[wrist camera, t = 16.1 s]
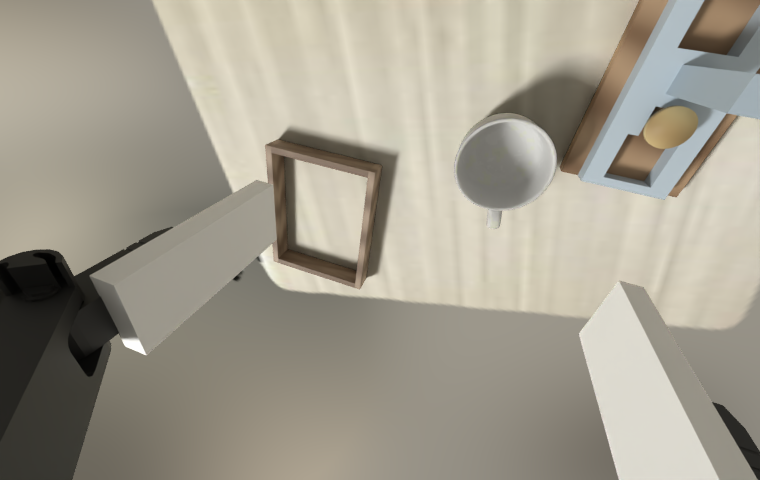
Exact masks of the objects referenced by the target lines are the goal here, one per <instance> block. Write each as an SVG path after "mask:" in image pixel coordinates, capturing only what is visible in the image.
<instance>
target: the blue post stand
mask: <svg viewBox="0 0 760 480" xmlns="http://www.w3.org/2000/svg"><path fill="white" fill-rule="evenodd" d="M703 2H704V0H668V2H667V4H666V6H665V8H664V10H663V12H662V14H661V16H660V18H659V20H658V22H657V24H656V25H655V27H654V29H653V31H652V33H651V35H650V37H649V39H648V41H647V43H646V45H645V47H644V49H643V50H642V52H641V54H640V56H639V58H638V60H637V62H636V64H635V66H634V68H633V70H632V72H631V74H630V76H629V77H628V79H627V81H626V83H625V85H624V87H623V89H622V91H621V93H620V95H619V97H618V99H617V101H616V102H615V104H614V106H613V108H612V110H611V112H610V114H609V116H608V118H607V120H606V122H605V124H604V126H603V127H602V129H601V131H600V133H599V135H598V137H597V139H596V141H595V143H594V145H593V147H592V149H591V151H590V152H589V154H588V156H587V158H586V160H585V162H584V164H583V166H582V168H581V170H580V172H579V174H578V176H579V178H580V180H581V181H584V182H589V183H593V184H597V185H602V186H606V187H610V188H615V189H619V190H623V191H628V192H632V193H636V194H641V195H645V196H650V197H654V198H658V199H663V200H665V198H666V197H667V196H668V194H669V193H670V192H671V190H672V189H673V187H674V186H675V185H676V183H677V182H678V180H679V179H680V178H681V176H682V175H683V173H684V172H685V171H686V169H687V168H688V167H689V165H690V164H691V162H692V161H693V160H694V158H695V157H696V155H697V154H698V153H699V151H700V150H701V148H702V147H703V146H704V144H705V143H706V141H707V140H708V139H709V137H710V136H711V135H712V133H713V132H714V130H715V129H716V128H717V126H718V125H719V123H720V122H721V121H722V119H723V118H724V116H725V115H726V114H727V113H728V114H733V115H739V116H744V117H750V118H756V119H760V74H755V73H756V72H757V71H758V69H759V68H760V5H759V6H758V8H757V10H756V11H755V13H754V14H753V16H752V17H751V19H750V20H749V22H748V23H747V25H746V26H745V28H744V29H743V31H742V32H741V34H740V35H739V37H738V39H737V40H736V42H735V43H734V45H733V46H732V48H731V49H730V51H729V52H728V54H727V55H721V54H715V53H708V52H701V51H695V50H688V49H681V48H677V47H678V46H679V44H680V42H681V40H682V39H683V37H684V35H685V33H686V32H687V30H688V28H689V26H690V25H691V23H692V21H693V19H694V18H695V16H696V14H697V12H698V11H699V9H700V7H701V5H702V4H703ZM675 105H678V106H684V107H687V108H689V109H691V110H693V111H694V112H695V113H696V114H697V117H698V126H697V129H696V131H695V132H694V134H693V135H692V136H691V137H690V138H689V139H688V140H687V141H686V142H684V143H682V144H681V145H679V146H676V147H673V148H669V149H665V150H664V152H663V153H662V155H661V156H660V158H659V159H658V161H657V162H656V164H655V165H654V167H653V169H652V170H651V172H650V173H649V175H648V176H647V178H646V179H645V181H640V180H636V179H631V178H627V177H622V176H618V175H613V174H609V173H606V172H607V170H608V168H609V167H610V165H611V163H612V161H613V160H614V158H615V156H616V154H617V153H618V151H619V149H620V147H621V146H622V144H623V142H624V140H625V139H626V137H627V135H628V134H631V135H636V136H639V134H640V132H641V130H642V129H643V127H644V125H645V124H646V122H647V120H648V119H649V117H650V115H651V114H652V112H653V110H654V108H655V107H662V108H665V107H669V106H675Z"/></svg>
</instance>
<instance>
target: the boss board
mask: <svg viewBox="0 0 760 480" xmlns="http://www.w3.org/2000/svg"><path fill="white" fill-rule="evenodd" d="M667 2H668V0H639V2H638V4H637V6H636V8H635V10H634V13H633V15H632V17H631V19H630V21H629V23H628V25H627V27H626V29H625V31H624V33H623V36H622V38H621V40H620V42H619V44H618V46H617V48H616V50H615V52H614V54H613V57H612V59H611V61H610V63H609V65H608V67H607V69H606V71H605V73H604V75H603V77H602V80H601V82H600V84H599V86H598V88H597V90H596V92H595V94H594V96H593V98H592V100H591V103H590V105H589V107H588V109H587V111H586V113H585V115H584V117H583V119H582V121H581V124H580V126H579V128H578V130H577V132H576V134H575V136H574V138H573V140H572V142H571V144H570V147H569V149H568V151H567V153H566V155H565V157H564V159H563V161H562V163H561V165H560V169H561V171H563V172H567V173H571V174H576V175H578V174H579V172H580V170H581V168H582V166H583V164H584V162H585V160H586V158H587V156H588V154H589V152H590V151H591V149H592V147H593V145H594V143H595V141H596V139H597V137H598V135H599V133H600V131H601V129H602V127H603V126H604V124H605V122H606V120H607V118H608V116H609V114H610V112H611V110H612V108H613V106H614V104H615V102H616V101H617V99H618V97H619V95H620V93H621V91H622V89H623V87H624V85H625V83H626V81H627V79H628V77H629V76H630V74H631V72H632V70H633V68H634V66H635V64H636V62H637V60H638V58H639V56H640V54H641V52H642V50H643V49H644V47H645V45H646V43H647V41H648V39H649V37H650V35H651V33H652V31H653V29H654V27H655V25H656V24H657V22H658V20H659V18H660V16H661V14H662V12H663V10H664V8H665V6H666V4H667ZM759 5H760V0H704V2H703V4H702V5H701V7H700V9H699V11H698V12H697V14H696V16H695V18H694V19H693V21H692V23H691V25H690V26H689V28H688V30H687V32H686V33H685V35H684V37H683V39H682V40H681V42H680V44H679V46H678V47H677V48H681V49H688V50H695V51H701V52H708V53H715V54H721V55H727V54H728V52H729V51H730V49H731V48H732V46H733V45H734V43H735V42H736V40H737V39H738V37H739V35H740V34H741V32H742V31H743V29H744V28H745V26H746V25H747V23H748V22H749V20H750V19H751V17H752V16H753V14H754V13H755V11H756V10H757V8H758V6H759ZM755 74H760V68H759V69H758V71H757V72H756V73H755ZM736 116H737V115H733V114H728V113H727V114H726V115H725V116H724V118H723V119H722V121H721V122H720V123H719V125H718V126H717V128H716V129H715V130H714V132H713V133H712V135H711V136H710V137H709V139H708V140H707V141H706V143H705V144H704V146H703V147H702V148H701V150H700V151H699V153H698V154H697V155H696V157H695V158H694V160H693V161H692V162H691V164H690V165H689V167H688V168H687V169H686V171H685V172H684V173H683V175H682V176H681V178H680V179H679V180H678V182H677V183H676V185H675V186H674V187H673V189H672V190H671V192H670V193H669V194H668V195H669V196H673V197H677V196H678V195H679V193H680V192H681V191H682V189H683V188H684V187H685V185H686V184H687V183H688V181H689V180H690V178H691V177H692V176H693V174H694V173H695V172H696V170H697V169H698V168H699V166H700V165H701V164H702V162H703V161H704V160H705V158H706V157H707V155H708V154H709V153H710V151H711V150H712V149H713V147H714V146H715V145H716V143H717V142H718V141H719V139H720V138H721V137H722V135H723V134H724V132H725V131H726V130H727V128H728V127H729V126H730V124H731V123H732V122H733V120H734V119H735V118H736ZM697 126H698V117H697V114H696V113H695V112H694V111H693V110H691V109H689V108H687V107H684V106H678V105H675V106H669V107H665V108H662V107H655V108H654V110H653V112H652V114H651V115H650V117H649V119H648V120H647V122H646V124H645V125H644V127H643V129H642V130H641V132H640V134H639V136H636V135H631V134H628V135H627V137H626V139H625V140H624V142H623V144H622V146H621V147H620V149H619V151H618V153H617V154H616V156H615V158H614V160H613V161H612V163H611V165H610V167H609V168H608V170H607V172H606V173H609V174H613V175H618V176H622V177H627V178H631V179H636V180H640V181H645V179H646V178H647V176H648V175H649V173H650V172H651V170H652V169H653V167H654V165H655V164H656V162H657V161H658V159H659V158H660V156H661V155H662V153H663V152H664V150H665V149H669V148H673V147H676V146H679V145H681V144H682V143H684V142H686V141H687V140H688V139H689V138H690V137H691V136H692V135H693V134H694V132H695V131H696V129H697Z"/></svg>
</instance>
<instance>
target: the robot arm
mask: <svg viewBox="0 0 760 480" xmlns="http://www.w3.org/2000/svg"><path fill="white" fill-rule="evenodd" d="M276 240H277V237H276V222H275V206H274V190H273V184H269V183H266V182H262V181H258V180H256V181H254V182H253V183H251V184H249V185H247V186H245V187H244V188H242V189H240V190H238V191H237V192H235V193H233V194H231V195H230V196H228V197H226V198H224V199H223V200H221V201H219V202H218V203H216V204H214V205H212V206H211V207H209V208H207V209H205V210H204V211H202V212H200V213H198V214H197V215H195V216H193V217H192V218H189V219H188V220H186V221H184V222H182V223H181V224H179V225H177V226H175V227H170V228H167V229H163V230H160V231H157V232H154V233H152V234H150V235H148V236H147V237H145V238H143V239H141V240H139V242H138V243H134V244H132V245H130V246H129V247H127V249H126V250H121V251H120V252H118V253H116V254H114V255H112V256H111V257H109V258H107V259H105V260H103V261H101V262H100V263H98V264H96V265H94V266H93V267H91V268H89V269H87V270H85V271H84V272H82V273H80V274H78V275H76V276H74V275H73V274H72V272H71V270H70V268H69V266H68V264H67V263H66V261H65V259H64V257H63V256H62V255H61V254H60V253H59V252H57V251H54V250H32V251H26V252H22V253H18V254H15V255H12V256H9V257H7V258H5V259H3V260H1V261H0V480H72V479H73V475H74V472H75V469H76V465H77V462H78V458H79V455H80V452H81V449H82V445H83V442H84V439H85V435H86V432H87V429H88V425H89V422H90V418H91V415H92V412H93V408H94V405H95V402H96V399H97V395H98V392H99V388H100V385H101V382H102V378H103V375H104V372H105V369H106V365H107V362H108V358H109V355H110V352H111V343H110V341H109V340H110V339H112V338H113V337H114V336H115V335H117V334H118V333H119V335H120V337H121V339H122V341H123V343H124V345H125V346H126V347H128V348H130V349H133V350H135V351H137V352H140V353H142V354H144V355H147V354H149V353H150V352H151V351H152V350H153V349H154V348H155V347H156V346H157V345H159V344H160V343H161V342H162V341H163V340H164V339H165V338H167V337H168V336H169V335H170V334H171V333H172V332H173V331H174V330H175V329H177V328H178V327H179V326H180V325H181V324H182V323H183V322H185V321H186V320H187V319H188V318H189V317H190V316H191V315H192V314H194V312H196V311H197V310H198V309H199V308H200V307H201V306H202V305H204V304H205V303H206V302H207V301H208V300H209V299H210V298H211V297H213V296H214V295H215V294H216V293H217V292H218V291H219V290H220V289H221V288H223V287H224V286H225V285H226V284H227V283H228V282H229V281H231V280H232V279H233V278H234V277H235V276H236V275H237V274H238V273H240V272H241V271H242V270H243V269H244V268H245V267H246V266H247V265H249V264H250V263H251V262H252V261H253V260H254V259H255V258H256V257H258V256H259V255H260V254H261V253H262V252H263V251H264V250H265V249H267V248H268V247H269V246H270V245H271V244H272V243H273V242H274V241H276ZM579 336H580V340H581V344H582V347H583V351H584V354H585V358H586V362H587V365H588V369H589V372H590V376H591V379H592V383H593V387H594V391H595V394H596V398H597V401H598V405H599V409H600V412H601V416H602V420H603V423H604V427H605V431H606V434H607V438H608V442H609V445H610V448H611V452H612V456H613V460H614V463H615V467H616V470H617V474H618V478H619V480H760V451H759V450H758V448H757V446H756V445H755V443H754V442H753V440H752V439H751V437H750V435H749V434H748V432H747V431H746V429H745V428H744V427H743V426H742V425H741V424H740V423H739V422H738V421H737V420H736V419H735V418H734V417H733V416H732V415H731V414H730V412H729V411H728V410H727V409H726V408H725V407H724V406H723V405H720V404H717V403H713V402H711V400H710V398H709V397H708V395H707V393H706V392H705V390H704V388H703V386H702V385H701V383H700V381H699V380H698V378H697V376H696V375H695V373H694V371H693V370H692V368H691V366H690V365H689V363H688V361H687V360H686V358H685V356H684V354H683V353H682V351H681V350H680V348H679V346H678V344H677V343H676V341H675V339H674V338H673V336H672V334H671V332H670V331H669V329H668V327H667V326H666V324H665V322H664V321H663V319H662V317H661V316H660V314H659V312H658V310H657V309H656V307H655V305H654V304H653V302H652V300H651V299H650V297H649V295H648V294H647V292H646V290H645V289H644V287H640V286H637V285H633V284H629V283H626V282H622V281H618V282H617V284H616V285H615V286H614V288H613V289H612V290H611V292H610V293H609V294H608V296H607V297H606V298H605V300H604V301H603V302H602V304H601V305H600V306H599V308H598V309H597V310H596V312H595V313H594V314H593V316H592V317H591V318H590V320H589V321H588V323H587V324H586V325H585V326H584V328H583V329H582V330H581V332H580V334H579Z"/></svg>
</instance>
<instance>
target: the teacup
mask: <svg viewBox="0 0 760 480" xmlns="http://www.w3.org/2000/svg"><path fill="white" fill-rule="evenodd" d="M556 166H557V154H556V149H555V146H554V143H553V141H552V140H551V138H550V136H549V135H548V134H547V133H546V132H545V131H544V130H543V129H542V128H541V127H539V126H538V125H537V124H536V123H534V122H533V121H532V120H530V119H528V118H526V117H524V116H522V115H519V114H514V113H500V114H495V115H492V116H489V117H487V118H485V119H483V120H481V121H480V122H478V123H477V124H475V125H474V126H473V127H472V128H471V129H470V130H469V132H468V133H467V134H466V136H465V137H464V139H463V141H462V143H461V145H460V148H459V151H458V153H457V156H456V159H455V165H454V173H455V179H456V183H457V185H458V188H459V189H460V191H461V192H462V194H463V195H464V196H465V197H466V198H467V199H468V200H469V201H470V202H472V203H473V204H475V205H477V206H479V207H482V208H485V209H488V214H487V227H488V228H490V229H497V228H499V226H500V222H501V215H502V211H505V210H512V209H516V208H520V207H523V206H525V205H527V204H529V203H531V202H532V201H534V200H535V199H537V198H538V197H539V196H540V195H541V194H542V193H543V192H544V191H545V190H546V189H547V187H548V186H549V184H550V183H551V181H552V179H553V177H554V174H555V171H556Z"/></svg>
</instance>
